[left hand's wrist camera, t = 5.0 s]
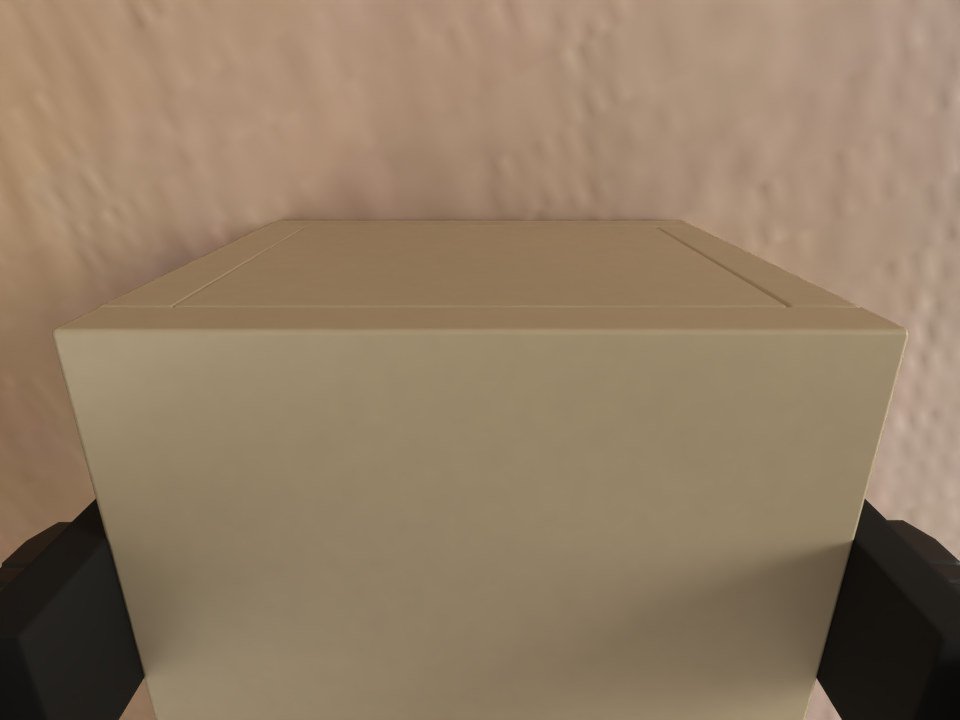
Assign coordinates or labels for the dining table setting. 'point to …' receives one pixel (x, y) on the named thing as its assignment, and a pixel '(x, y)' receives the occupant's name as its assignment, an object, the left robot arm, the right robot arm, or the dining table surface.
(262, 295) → the cabinet
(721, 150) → the dining table surface
